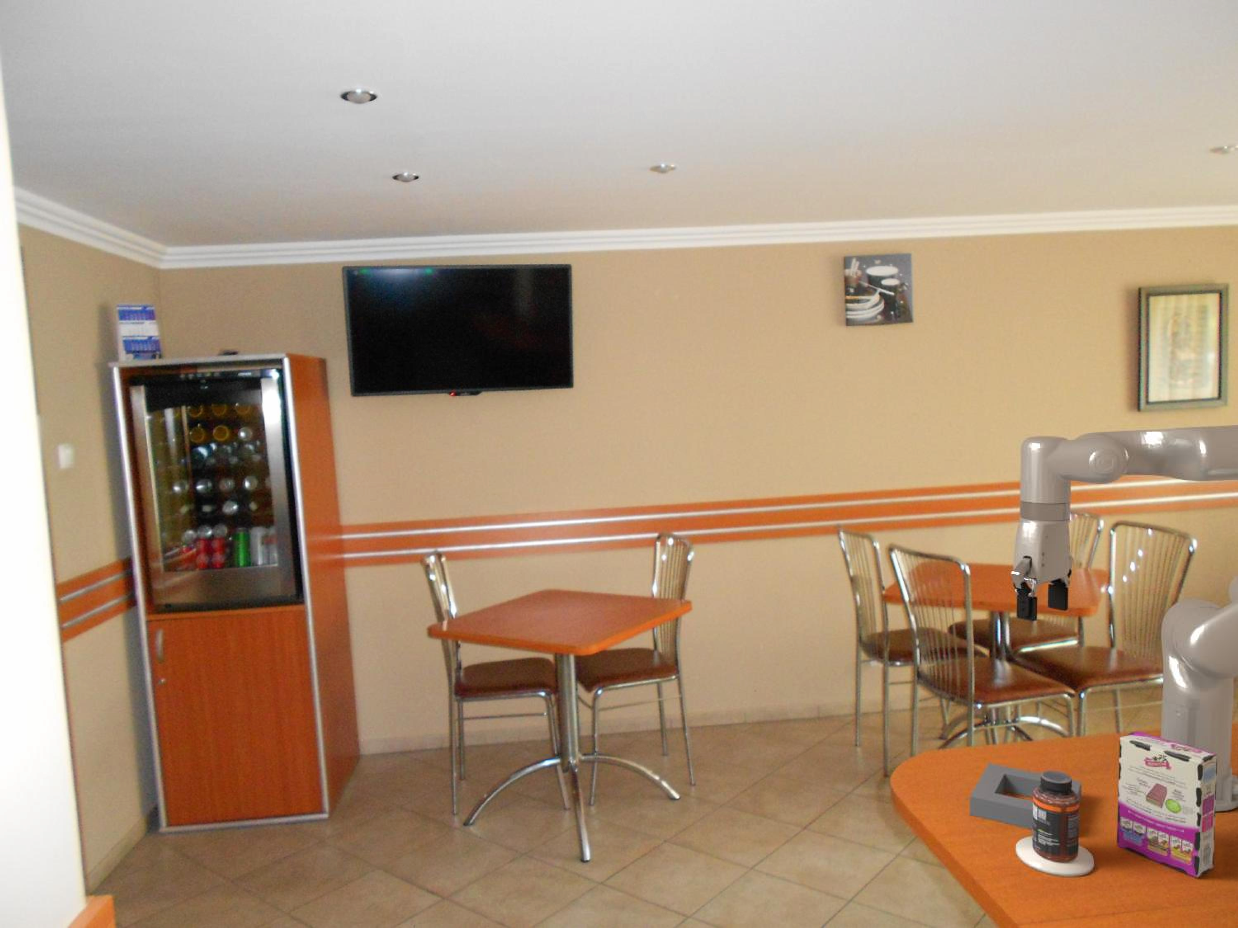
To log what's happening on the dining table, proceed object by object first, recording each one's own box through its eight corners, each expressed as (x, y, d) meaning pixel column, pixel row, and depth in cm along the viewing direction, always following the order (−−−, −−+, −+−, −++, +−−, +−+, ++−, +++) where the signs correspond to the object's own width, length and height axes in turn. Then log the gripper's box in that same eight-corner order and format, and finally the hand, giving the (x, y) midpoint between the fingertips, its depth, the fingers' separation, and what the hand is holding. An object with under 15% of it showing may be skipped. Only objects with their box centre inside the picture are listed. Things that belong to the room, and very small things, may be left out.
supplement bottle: (1080, 848, 131) (1082, 772, 130) (1076, 868, 126) (1078, 789, 125) (1034, 838, 134) (1036, 763, 133) (1029, 856, 129) (1031, 779, 128)
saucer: (1097, 850, 132) (1097, 846, 132) (1089, 884, 123) (1089, 879, 123) (1022, 833, 137) (1022, 829, 137) (1009, 863, 129) (1009, 859, 129)
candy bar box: (1215, 868, 127) (1220, 753, 125) (1197, 879, 124) (1202, 762, 122) (1132, 835, 136) (1136, 728, 134) (1114, 845, 133) (1118, 736, 131)
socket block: (1081, 799, 147) (1081, 781, 147) (1068, 837, 136) (1069, 818, 135) (988, 780, 155) (988, 762, 155) (969, 814, 143) (969, 796, 143)
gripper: (1049, 504, 159) (1047, 601, 160) (994, 515, 148) (992, 619, 150) (1093, 508, 153) (1091, 609, 155) (1038, 520, 142) (1036, 628, 144)
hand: (1042, 614), depth 152 cm, fingers open, 9 cm apart
